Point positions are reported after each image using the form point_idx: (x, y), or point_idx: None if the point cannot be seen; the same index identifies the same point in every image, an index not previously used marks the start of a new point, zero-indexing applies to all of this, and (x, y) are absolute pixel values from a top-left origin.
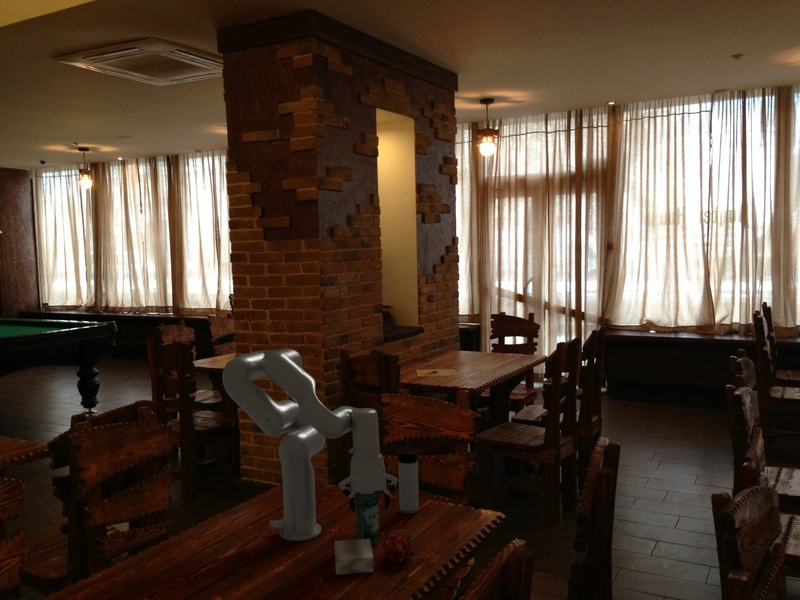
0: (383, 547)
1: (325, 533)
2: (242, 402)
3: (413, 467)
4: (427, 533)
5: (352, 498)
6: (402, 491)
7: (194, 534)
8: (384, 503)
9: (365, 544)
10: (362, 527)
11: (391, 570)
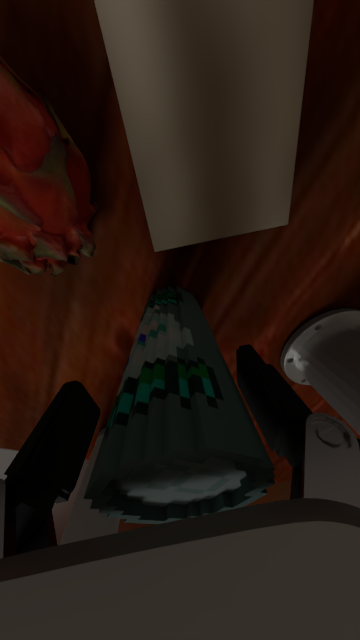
0: (68, 139)
1: (271, 349)
2: None
3: None
4: (40, 360)
5: (296, 418)
6: None
7: None
8: (97, 419)
9: (163, 185)
10: (189, 310)
11: (37, 59)
